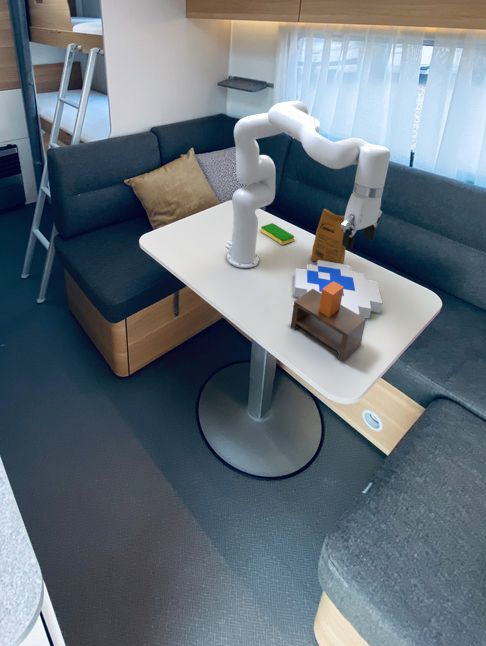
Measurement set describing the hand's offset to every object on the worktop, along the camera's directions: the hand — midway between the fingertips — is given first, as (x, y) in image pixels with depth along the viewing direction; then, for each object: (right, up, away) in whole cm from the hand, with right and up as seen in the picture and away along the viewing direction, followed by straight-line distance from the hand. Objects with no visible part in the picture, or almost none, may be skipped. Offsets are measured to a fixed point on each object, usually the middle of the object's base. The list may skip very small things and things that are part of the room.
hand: (357, 242), depth 120 cm
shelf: (-8, -30, +6) cm, 32 cm away
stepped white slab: (+3, -23, +25) cm, 35 cm away
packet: (-7, -21, +3) cm, 22 cm away
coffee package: (+7, -16, +44) cm, 48 cm away
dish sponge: (-9, -9, +62) cm, 64 cm away
